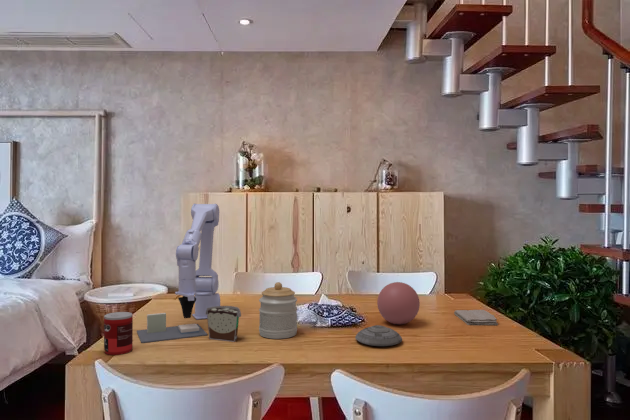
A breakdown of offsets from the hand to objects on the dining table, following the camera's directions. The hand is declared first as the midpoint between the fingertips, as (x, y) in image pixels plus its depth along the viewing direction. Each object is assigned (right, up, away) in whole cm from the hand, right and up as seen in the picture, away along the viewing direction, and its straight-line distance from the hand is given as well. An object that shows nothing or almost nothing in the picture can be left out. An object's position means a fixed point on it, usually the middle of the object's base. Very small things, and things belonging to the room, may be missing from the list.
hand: (187, 317), depth 164 cm
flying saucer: (+65, -5, -12) cm, 66 cm away
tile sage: (-10, -4, -3) cm, 11 cm away
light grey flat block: (0, -3, +1) cm, 3 cm away
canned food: (-14, -5, -23) cm, 28 cm away
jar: (+32, -5, -4) cm, 33 cm away
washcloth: (+106, -5, +17) cm, 108 cm away
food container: (+15, -5, -9) cm, 18 cm away
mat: (-4, -5, -4) cm, 7 cm away
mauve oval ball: (+75, -5, +13) cm, 76 cm away
